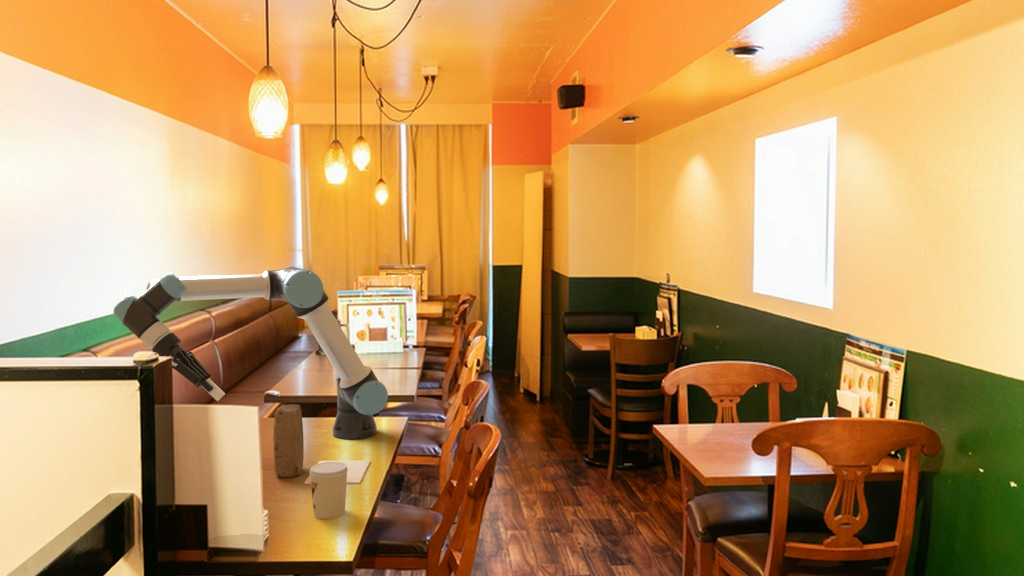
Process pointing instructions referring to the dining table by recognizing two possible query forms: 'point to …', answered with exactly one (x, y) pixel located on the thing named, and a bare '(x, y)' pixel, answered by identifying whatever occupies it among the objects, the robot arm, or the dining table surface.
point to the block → (288, 441)
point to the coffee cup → (328, 489)
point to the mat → (350, 470)
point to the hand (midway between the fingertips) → (221, 397)
